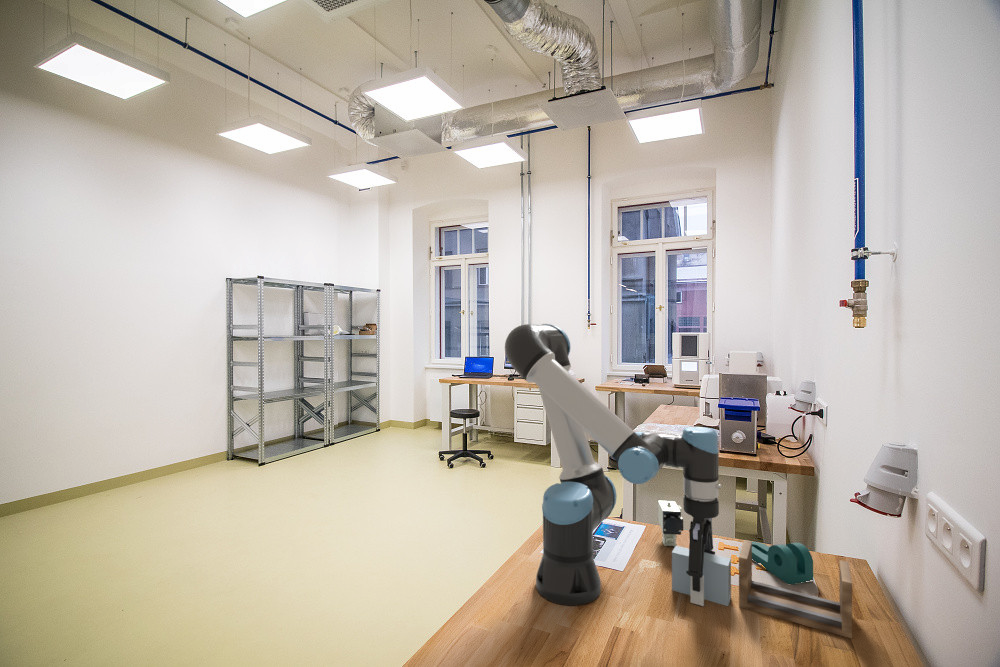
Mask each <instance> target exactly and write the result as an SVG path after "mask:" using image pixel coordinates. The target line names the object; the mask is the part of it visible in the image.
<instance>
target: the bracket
mask: <svg viewBox="0 0 1000 667" xmlns="http://www.w3.org/2000/svg"><path fill="white" fill-rule="evenodd" d="M752 559H753V560H754V561H756V562H757V563H761V564H762V565H763V566H764V567H765V568H766V569H765V568H764V569H765V570H766V571H768V572H769V573H770V574H772V575H774V576H775V577H777V578H778V579H779V580H781V581H783V582H784V583H785V584H787V585H788V584H793V585H796V584H795V583H801V582H806V581H810V580H813V581H814V560H813V556H812V554H811V552H810V550H809V549H808V547H807V546H806V545H804V544H803V543H800V542H791V543H789V542H788V543H786V544H782V543H781V544H772V545H770V546H769V545H767V544H765V543H762V542H758V541H752ZM753 560H752V561H753ZM754 561H753V562H754ZM756 562H755V563H756ZM757 563H756V564H757ZM801 584H802V583H801Z"/></svg>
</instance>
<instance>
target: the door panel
mask: <svg viewBox="0 0 1000 667" xmlns="http://www.w3.org/2000/svg"><path fill="white" fill-rule="evenodd" d="M688 567H689V547H684V546H679V545H677V546H675V547H674V548H673V549H672V551H671V591H674V592H676V593H680V594H684V595H687V596H690V576H689V575H688V574H687V573H686V571H688ZM703 575H704V601H708V602H711V603H716V604H719V605H723V606H725V607H726V606H727V607H729V606H730V602H731V599H732V584H731V582H732V578H731V577H732V559H731V558H730V557H725V556H722V555H717V554H715V555H714V554H709V553H705V552H704V562H703Z"/></svg>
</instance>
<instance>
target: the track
mask: <svg viewBox="0 0 1000 667" xmlns="http://www.w3.org/2000/svg"><path fill="white" fill-rule="evenodd" d="M752 542H753V541H751V540H748V539H744V540H743V543H742V545H741V548H740V552H739V555H738V607H739V608H743V609H746V610H750V611H753V612H757V613H760V614H763V615H767V616H771V617H774V618H778V619H780V620H785V621H788V622H792V623H796V624H799V625H803V626H806V627H810V628H813V629H816V630H820V631H824V632H827V633H831V634H835V635H838V636H841V637H845V638H848V639H853V580H852V574H851V568H850V561H846V560H842V559H841V560H840V559H839V563H838V564H839V568H838V569H839V585H838V586H839V593H838V594H839V596H838V598H839V601H835V600H831V599H826V598H822V597H819V596H814V595H810V594H807V593H803V592H798V591H794V590H790V589H787V588H783V587H778V586H775V585H771V584H767V583H765V582H761V581H755V580H753V560H752Z"/></svg>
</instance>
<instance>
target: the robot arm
mask: <svg viewBox="0 0 1000 667" xmlns="http://www.w3.org/2000/svg"><path fill="white" fill-rule="evenodd" d="M570 352H571V341H570V338H569V337H568V334H567V333H566V332H565V331H564V330H563V329H562V328H560V327H558V326H556V325H552V324H550V323H549V324H548V323H540V324H531V323H528V324H526V323H525V324H521V325H518V326H517V327H514V328H513V329H512V330H511V331H510V332H509V333H508V335H507V337H506V340H505V342H504V353H505V356H506V359H507V361H508V363H509V364H510V365H511V367H512V368H513V369H514V371H516V372H517V373H518V374H519V375H520V376H521V378H523V380H524V381H525V382H526V383H527V384H528V383H529V384H530V383H531V384H532V383H534V384H535V385H536V386H537V387H538V390H539V393H540V397H541V400H542V403H543V407H544V410H545V414H546V417H547V420H548V424H549V428H550V430H551V435H552V438H553V440H554V443H555V447H556V451H557V454H558V457H559V458H558V459H559V461H560V465H561V468H562V470H561V473H560V474H559V477H558V478H559V481H560V483H558V482H557V483H554V484H552V485H550V486H549V487H547V489H546V490H545V491H544V493H543V498H542V504H541V506H542V507H541V508H542V539H543V540H542V545H543V546H542V548H543V552H542V553H543V554H542V557H541V560H540V563H539V566H538V569H537V573H536V576H535V579H536V581H535V586H536V590H537V592H538V594H539V595H540V596H542V597H543V599H546V600H547V601H549V602H552V603H555V604H559V605H563V606H581V605H586V604H589V603H591V602H593V601H595V600H596V599H598V597H599V596H600V595H601V591H602V590H601V588H602V587H601V586H602V585H601V582H602V581H601V577H600V574H599V571H598V567H597V566H596V562H595V559H594V555H593V554H594V552H593V551H594V550H593V549H594V547H593V544H594V542H593V540H594V537H593V533H594V530H595V529H596V528H597V527H598V526H600V525H601V523H603V521H605V520H606V519H607V518H609V516H611V513H613V510H614V508H615V505H616V503H617V490H616V486H615V485H614V483H613V481H612V479H611V478H610V477H608V476H607V475H606V474H605V472H604V469H603V467H602V465H601V464H600V463H598V462H597V461H595V460H594V456H593V453H592V450H591V446H590V443H589V440H588V436H587V435H589V436H590V437H591V438H592V439H593V440H594V441H595V443H597V444H598V445H599V446H600V447H601V448H603V449H604V451H606V452H607V454H609V455H610V456H611V457H612V458H613V459H614V460H615V461H616V462H617V465H618V471H619V473H620V475H621V476H622V478H623V479H624V480H626V481H627V482H629V483H631V484H633V485H641V484H642V485H643V484H645V483H647V482H649V481H651V479H654V478H655V477H656V476H657V474H658V472H659V471H660V470H662V468H664V467H668V468H669V467H670V468H676V469H682V470H683V474H682V492H683V494H684V495H683V497H682V498H683V499H682V500H683V512H685V513H686V514H687V515H688V516H691V517H692V520H691V521H690V523H689V524H690V525H689V527H690V528H689V530H688V532H689V534H688V535H689V536H688V537H689V541H688V542H689V546H688V549H689V567H688V571H686V573H687V574H688V575H689V576H690V595H689V596H690V604H691V603H692V604H694V605H697V606H701V607H704V606H705V599H704V575H703V562H704V552H705V553H709V554H714V555H716V551H714V550H713V549H714V542H713V540H714V539H713V522H712V520H713V519H714V518H717V517H718V515H719V514H720V503H719V502H720V500H719V499H718V497H719V490H721V489H722V484H718V483H719V472H720V471H719V466H720V465H719V464H720V463H719V461H720V460H719V459H720V458H719V457H720V449H719V442H718V440H719V439H718V437H719V436H718V434H717V432H716V431H715V430H714V429H712V428H707V427H702V426H701V427H700V426H689V427H685V428H684V429H683V430H682V434H680V435H679V434H678V435H677V434H668V433H660V432H652V431H634V430H633V429H632V428H631V427H630V426H628V424H626V422H624V421H623V420H622V419H621V418H620V417H619V416H618V415H616V413H614V412H613V411H612V410H611V409H610V408H609V407H608V406H607V405H605V403H603V402H602V401H601V400H600V399H598V397H597V396H596V395H594V394H593V393H592V392H591V391H590V390H589V389H587V387H586V386H584V384H582V383H581V382H580V380H578V379H577V378H576V377H574V376H573V375H572V374H571V373H570V369H571V367H572V365H571V362H570V359H569V355H570Z"/></svg>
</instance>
